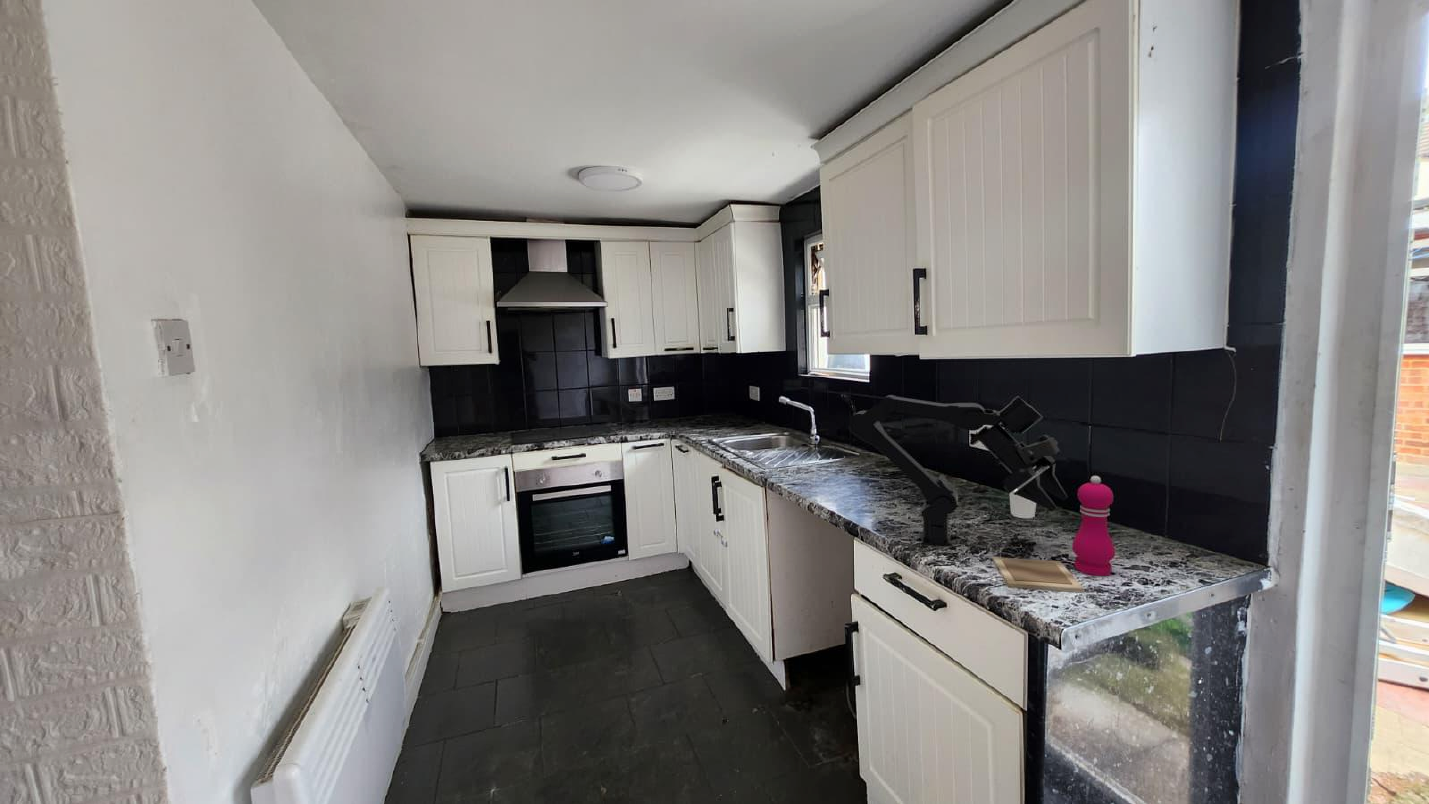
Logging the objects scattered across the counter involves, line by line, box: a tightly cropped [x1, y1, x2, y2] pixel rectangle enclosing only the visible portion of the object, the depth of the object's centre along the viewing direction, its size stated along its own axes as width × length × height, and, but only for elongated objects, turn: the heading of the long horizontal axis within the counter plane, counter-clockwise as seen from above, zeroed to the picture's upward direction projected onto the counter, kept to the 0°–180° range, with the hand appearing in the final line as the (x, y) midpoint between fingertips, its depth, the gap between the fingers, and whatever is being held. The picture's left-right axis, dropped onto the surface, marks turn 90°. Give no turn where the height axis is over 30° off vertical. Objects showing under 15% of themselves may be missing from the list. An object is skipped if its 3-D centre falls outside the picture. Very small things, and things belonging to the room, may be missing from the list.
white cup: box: [1008, 489, 1037, 519], centre depth 144 cm, size 7×7×7 cm
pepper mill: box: [1071, 475, 1116, 577], centre depth 109 cm, size 7×7×20 cm
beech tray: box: [992, 556, 1085, 594], centre depth 109 cm, size 13×13×1 cm
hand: (1060, 503), depth 113 cm, fingers open, 9 cm apart
